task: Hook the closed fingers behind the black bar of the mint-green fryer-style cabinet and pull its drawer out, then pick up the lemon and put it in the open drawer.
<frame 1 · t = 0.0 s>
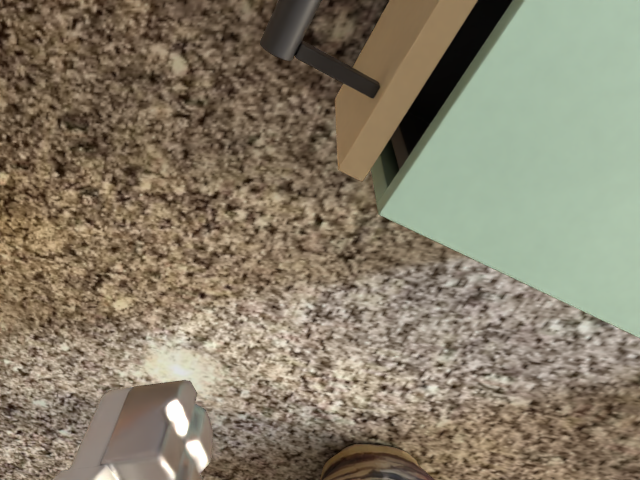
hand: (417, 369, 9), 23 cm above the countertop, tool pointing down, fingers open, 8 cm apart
ceramic jug: (372, 465, 49), on the countertop
drawer: (508, 64, 24), point 5 cm above the countertop, slide at 1.0 cm
cabinet: (555, 83, 30), on the countertop
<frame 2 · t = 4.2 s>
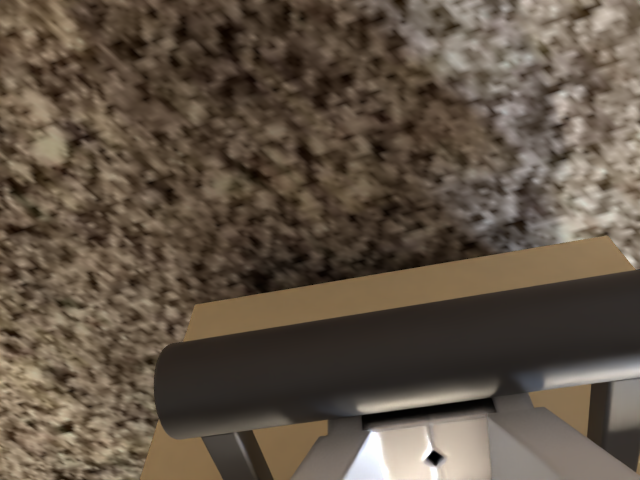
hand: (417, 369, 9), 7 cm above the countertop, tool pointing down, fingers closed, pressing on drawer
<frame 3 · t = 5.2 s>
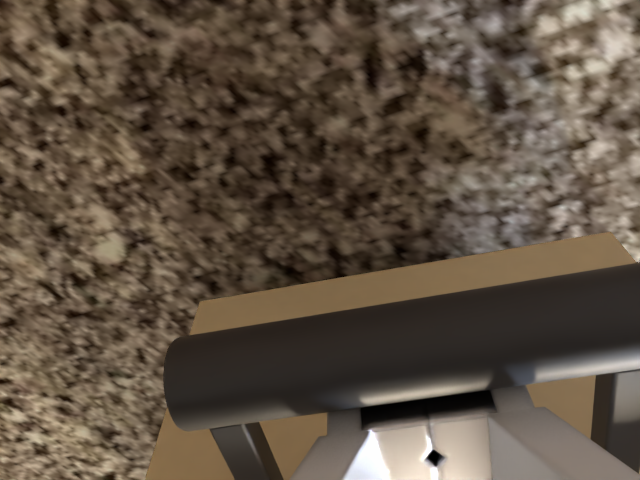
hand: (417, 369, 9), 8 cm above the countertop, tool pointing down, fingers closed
when the fingers open (9 cm above the countertop, at t = 25.9 s): lemon stays where it is, resting on drawer.
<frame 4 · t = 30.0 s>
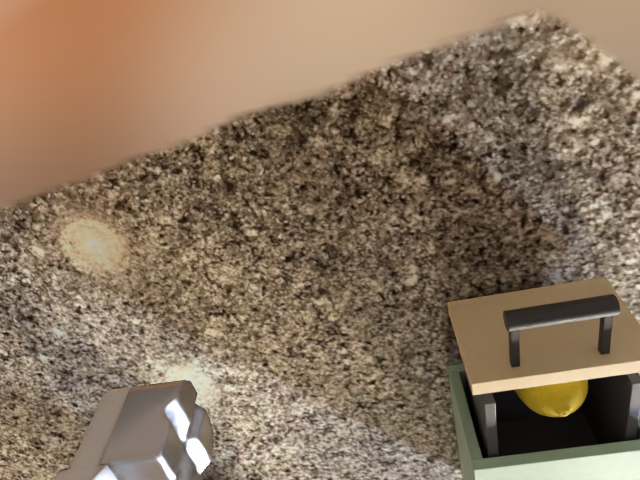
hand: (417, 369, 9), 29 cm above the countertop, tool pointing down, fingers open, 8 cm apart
drawer: (542, 375, 43), point 5 cm above the countertop, slide at 7.3 cm, touching lemon
cabinet: (524, 413, 54), on the countertop
lemon: (528, 331, 45), point 2 cm above the countertop, touching drawer
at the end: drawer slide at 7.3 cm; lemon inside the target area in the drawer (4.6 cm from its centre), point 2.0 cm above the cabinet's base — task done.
